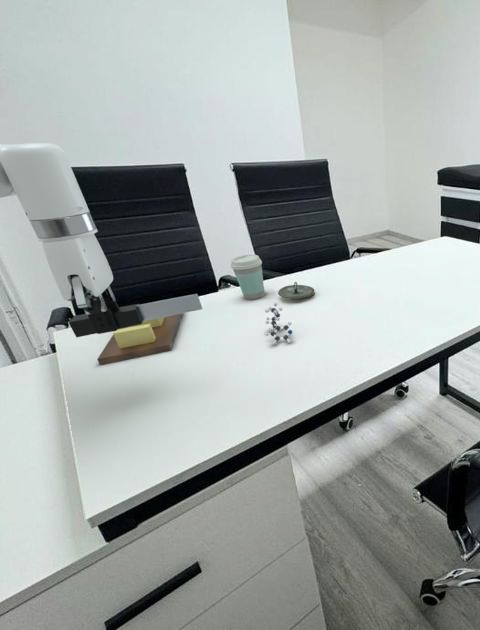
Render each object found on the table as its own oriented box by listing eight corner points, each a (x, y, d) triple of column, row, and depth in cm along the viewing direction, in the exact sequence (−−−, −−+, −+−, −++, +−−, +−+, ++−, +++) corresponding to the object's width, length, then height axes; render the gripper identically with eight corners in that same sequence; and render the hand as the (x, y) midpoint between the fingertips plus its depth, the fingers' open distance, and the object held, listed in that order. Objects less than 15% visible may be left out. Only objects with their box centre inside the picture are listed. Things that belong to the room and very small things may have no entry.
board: (99, 364, 86) (97, 359, 85) (125, 324, 104) (123, 319, 103) (171, 350, 90) (169, 344, 90) (183, 313, 109) (181, 308, 108)
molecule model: (267, 356, 90) (275, 331, 86) (255, 322, 97) (261, 297, 93) (294, 354, 94) (302, 330, 90) (280, 321, 101) (287, 297, 97)
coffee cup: (265, 288, 123) (257, 252, 118) (272, 296, 117) (263, 258, 112) (237, 295, 119) (227, 257, 114) (242, 304, 113) (232, 265, 108)
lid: (278, 299, 119) (271, 286, 116) (306, 284, 122) (300, 270, 120) (291, 311, 111) (283, 298, 108) (320, 295, 115) (314, 281, 112)
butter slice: (119, 348, 89) (112, 333, 87) (121, 344, 90) (115, 329, 89) (154, 341, 91) (148, 327, 89) (156, 338, 93) (150, 323, 91)
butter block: (129, 331, 96) (123, 317, 95) (134, 323, 101) (128, 309, 99) (161, 325, 99) (155, 311, 97) (164, 318, 103) (159, 304, 101)
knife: (76, 337, 68) (67, 321, 66) (82, 330, 70) (74, 314, 69) (201, 311, 74) (196, 296, 72) (203, 306, 76) (197, 291, 75)
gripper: (57, 220, 68) (100, 314, 76) (10, 242, 54) (69, 353, 62) (107, 215, 70) (144, 306, 78) (75, 234, 57) (123, 342, 65)
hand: (110, 326), depth 70 cm, fingers closed on knife, 3 cm apart
